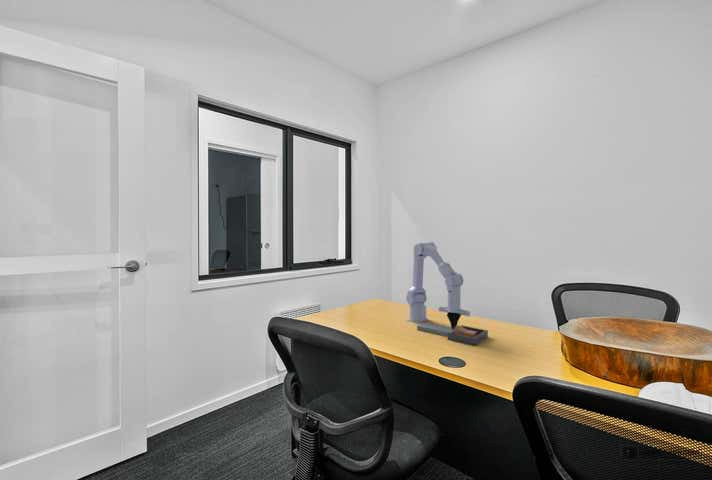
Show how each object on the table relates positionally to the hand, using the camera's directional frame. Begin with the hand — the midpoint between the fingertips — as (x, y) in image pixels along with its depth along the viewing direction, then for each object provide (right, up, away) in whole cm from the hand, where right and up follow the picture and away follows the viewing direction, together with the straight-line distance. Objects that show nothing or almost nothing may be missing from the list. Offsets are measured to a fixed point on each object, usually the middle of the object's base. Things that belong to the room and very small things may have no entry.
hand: (453, 328), depth 154 cm
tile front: (+6, -3, -5) cm, 8 cm away
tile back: (+2, -2, -2) cm, 3 cm away
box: (+5, -3, -4) cm, 7 cm away
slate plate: (-6, -3, +6) cm, 9 cm away
